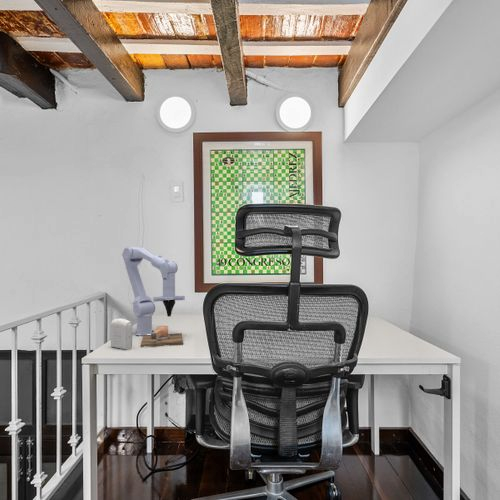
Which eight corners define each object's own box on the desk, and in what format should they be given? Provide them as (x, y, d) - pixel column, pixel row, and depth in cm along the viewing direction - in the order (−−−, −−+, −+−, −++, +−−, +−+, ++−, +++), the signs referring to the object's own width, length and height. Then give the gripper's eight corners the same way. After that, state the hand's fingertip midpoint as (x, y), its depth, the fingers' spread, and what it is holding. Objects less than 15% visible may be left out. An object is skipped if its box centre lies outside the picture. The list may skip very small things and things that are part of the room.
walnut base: (143, 337, 184) (143, 332, 184) (181, 335, 187) (181, 331, 187) (140, 347, 166) (140, 342, 166) (183, 344, 169) (183, 339, 169)
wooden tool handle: (159, 334, 180) (159, 325, 180) (169, 334, 179) (169, 325, 179) (147, 341, 166) (147, 332, 166) (158, 341, 165) (158, 332, 165)
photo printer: (134, 347, 165) (133, 319, 165) (126, 350, 161) (126, 320, 161) (117, 345, 170) (116, 316, 170) (109, 347, 166) (109, 318, 166)
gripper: (154, 288, 176) (154, 318, 176) (185, 287, 181) (186, 316, 181) (152, 287, 182) (152, 316, 182) (183, 286, 187) (183, 314, 187)
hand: (169, 316), depth 182 cm, fingers closed
